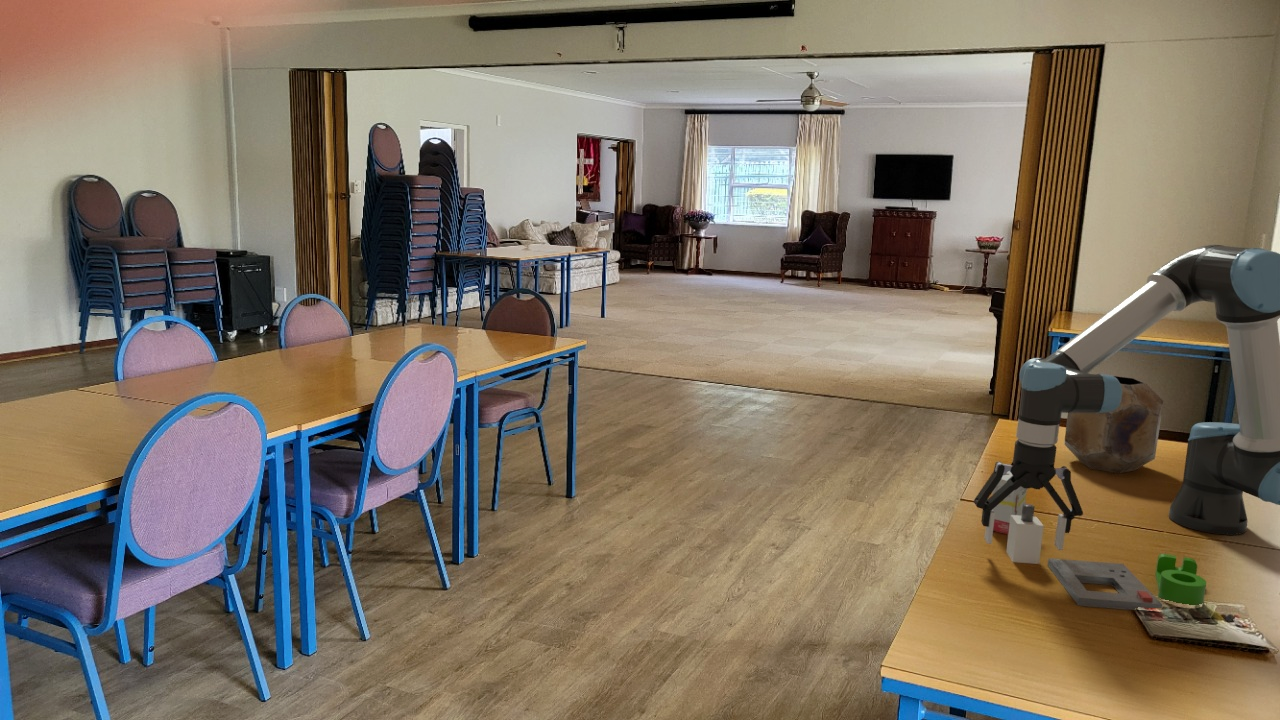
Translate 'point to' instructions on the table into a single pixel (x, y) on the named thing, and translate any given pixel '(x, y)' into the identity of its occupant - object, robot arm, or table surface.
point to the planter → (1118, 431)
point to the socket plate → (1104, 574)
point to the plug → (1025, 536)
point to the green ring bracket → (1179, 580)
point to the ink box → (1008, 506)
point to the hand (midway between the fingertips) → (1022, 544)
